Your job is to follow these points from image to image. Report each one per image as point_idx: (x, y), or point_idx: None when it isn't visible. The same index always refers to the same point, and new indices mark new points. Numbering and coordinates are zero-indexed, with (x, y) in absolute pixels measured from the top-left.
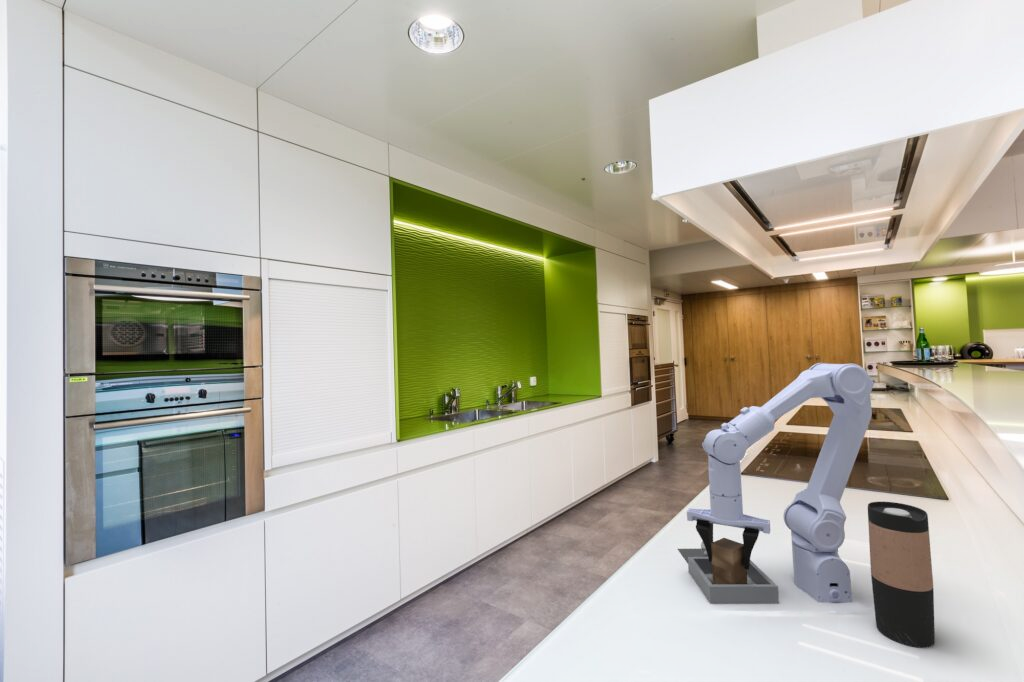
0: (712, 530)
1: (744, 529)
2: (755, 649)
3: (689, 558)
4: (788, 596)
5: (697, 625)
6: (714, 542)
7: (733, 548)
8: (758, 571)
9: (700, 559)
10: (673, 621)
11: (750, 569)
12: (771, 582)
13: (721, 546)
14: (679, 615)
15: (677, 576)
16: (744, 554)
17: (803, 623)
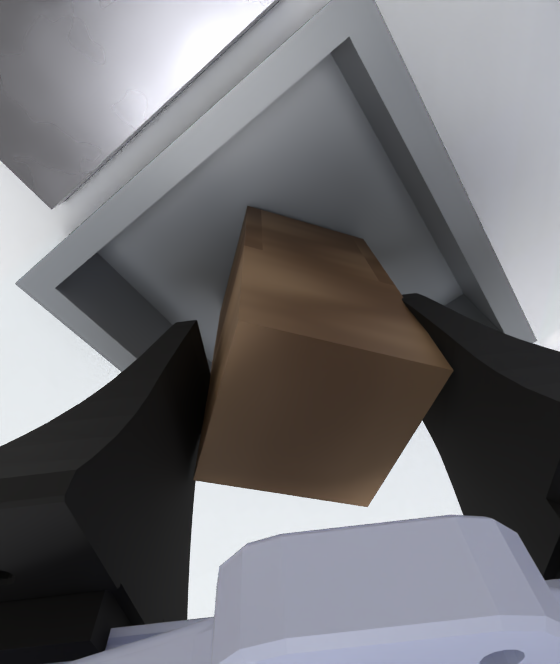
0: (139, 451)
1: (547, 564)
2: (407, 504)
3: (37, 299)
4: (539, 142)
5: (257, 500)
6: (209, 455)
7: (368, 475)
8: (450, 224)
9: (90, 257)
10: (197, 516)
11: (383, 122)
12: (511, 317)
13: (280, 486)
14: (196, 490)
15: (27, 270)
16: (432, 437)
17: (552, 333)
